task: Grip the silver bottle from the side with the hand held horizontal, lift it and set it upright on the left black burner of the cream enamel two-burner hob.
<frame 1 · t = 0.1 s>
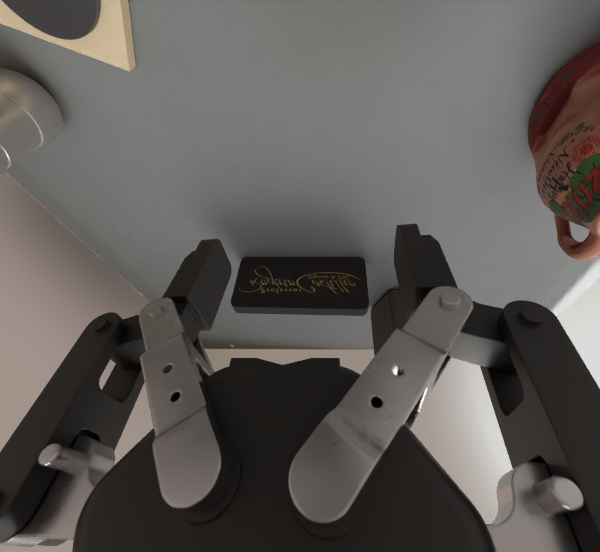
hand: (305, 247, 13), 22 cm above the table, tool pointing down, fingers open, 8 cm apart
dark grey upright block: (387, 299, 57), on the table
animal head mug: (579, 114, 28), on the table
silver bottle: (37, 98, 30), on the table
nameplate: (302, 259, 48), on the table
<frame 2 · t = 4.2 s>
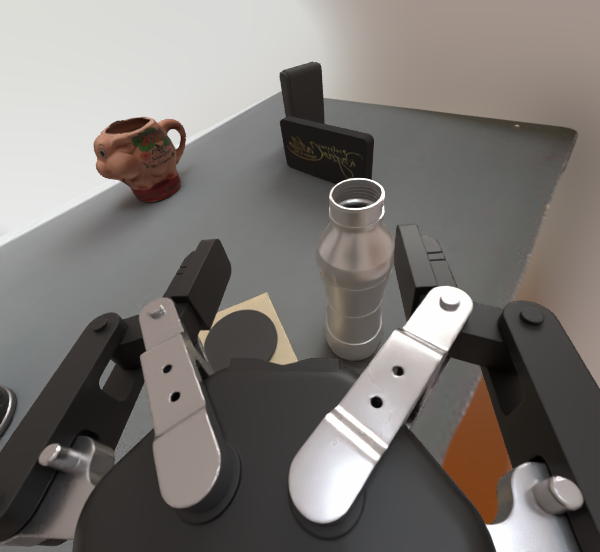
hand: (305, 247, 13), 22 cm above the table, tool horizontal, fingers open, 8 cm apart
dark grey upright block: (307, 137, 72), on the table
animal head mug: (165, 187, 64), on the table
silver bottle: (352, 340, 33), on the table
hob: (250, 388, 31), on the table
nameplate: (325, 177, 58), on the table
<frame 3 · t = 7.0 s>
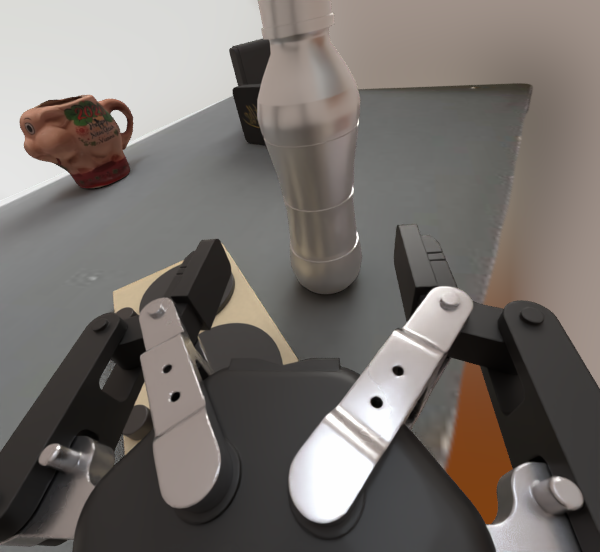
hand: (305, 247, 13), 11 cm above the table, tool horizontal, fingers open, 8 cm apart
dark grey upright block: (267, 120, 69), on the table
animal head mug: (113, 175, 58), on the table
silver bottle: (328, 278, 27), on the table
hob: (201, 345, 24), on the table
nameplate: (287, 146, 55), on the table
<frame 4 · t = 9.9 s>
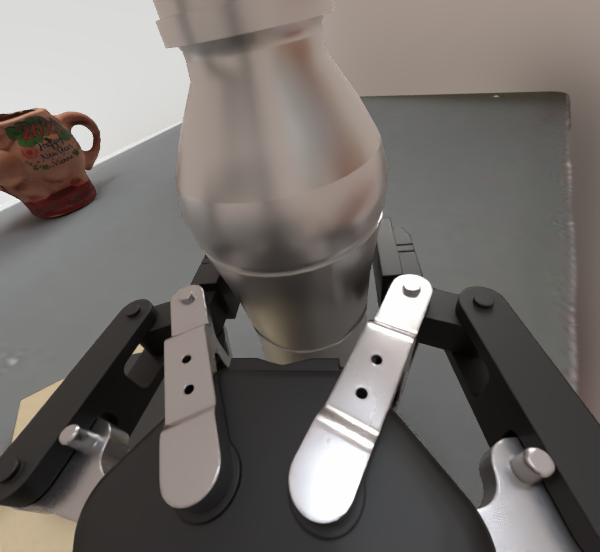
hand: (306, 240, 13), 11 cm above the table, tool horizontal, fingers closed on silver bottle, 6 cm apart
animal head mug: (78, 200, 50), on the table
silver bottle: (326, 388, 19), on the table, touching gripper
hob: (129, 517, 15), on the table
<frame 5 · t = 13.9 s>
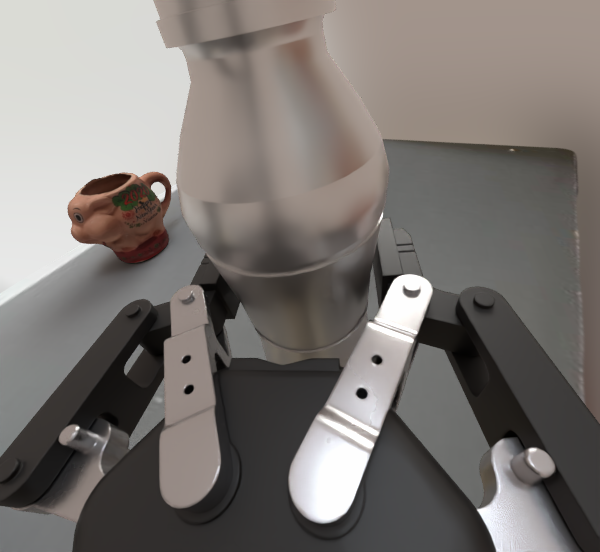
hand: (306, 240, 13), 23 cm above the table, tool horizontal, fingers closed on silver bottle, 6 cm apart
animal head mug: (152, 244, 58), on the table
silver bottle: (326, 388, 19), point 12 cm above the table, touching gripper
when the fingers open (13 cm above the table, at t = 18.1 s): silver bottle stays where it is, resting on hob.
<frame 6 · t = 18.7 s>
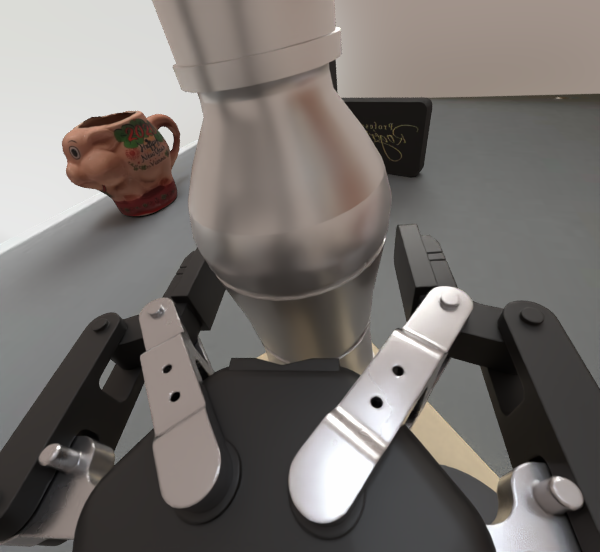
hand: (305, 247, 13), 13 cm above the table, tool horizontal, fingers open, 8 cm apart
animal head mug: (158, 199, 52), on the table
silver bottle: (329, 395, 19), point 2 cm above the table, touching hob
hob: (365, 482, 17), on the table
nameplate: (358, 167, 48), on the table
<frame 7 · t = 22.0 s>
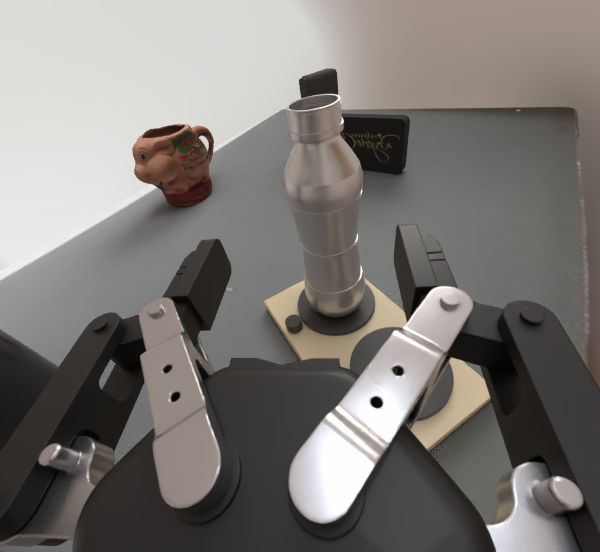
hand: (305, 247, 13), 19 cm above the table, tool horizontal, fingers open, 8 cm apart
dark grey upright block: (324, 140, 76), on the table
animal head mug: (196, 193, 65), on the table
silver bottle: (336, 302, 32), point 2 cm above the table, touching hob
hob: (357, 344, 30), on the table
nameplate: (355, 167, 61), on the table
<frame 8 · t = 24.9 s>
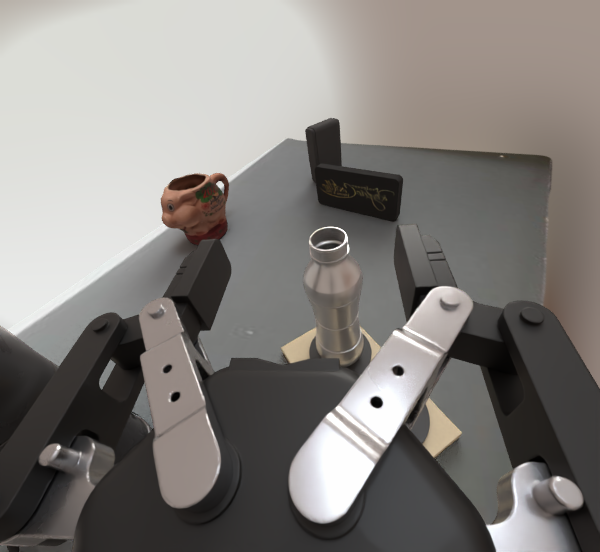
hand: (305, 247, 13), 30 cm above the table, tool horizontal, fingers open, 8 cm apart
dark grey upright block: (327, 178, 83), on the table
animal head mug: (212, 231, 72), on the table
silver bottle: (340, 351, 40), point 2 cm above the table, touching hob
hob: (357, 388, 38), on the table
nameplate: (356, 210, 69), on the table
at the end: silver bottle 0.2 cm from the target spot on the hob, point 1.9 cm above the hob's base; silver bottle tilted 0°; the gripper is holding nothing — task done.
